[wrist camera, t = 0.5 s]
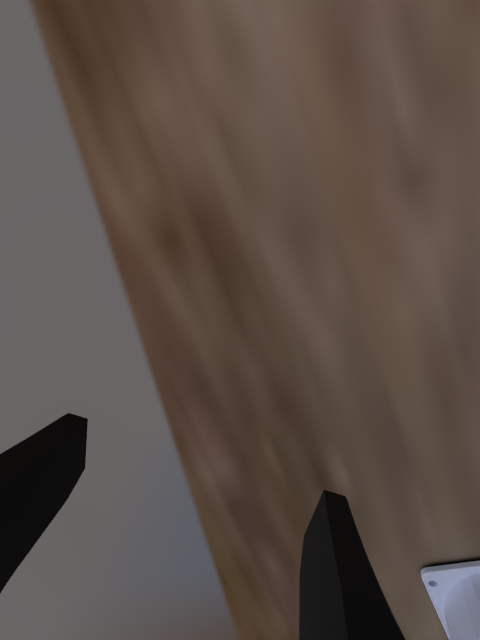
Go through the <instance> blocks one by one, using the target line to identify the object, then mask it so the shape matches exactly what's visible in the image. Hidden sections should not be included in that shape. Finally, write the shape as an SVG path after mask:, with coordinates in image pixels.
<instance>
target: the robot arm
mask: <svg viewBox="0 0 480 640" xmlns="http://www.w3.org/2000/svg"><path fill="white" fill-rule="evenodd" d="M87 420H88V419H86V418H83V417H80V416H77V415H73V414H70V413H68V414H66V415H64V416H62V417H61V418H59V419H58V420H56V421H54V422H53V423H51V424H49V425H48V426H46V427H45V428H43V429H41V430H40V431H38V432H37V433H35V434H33V435H32V436H30V437H29V438H27V439H25V440H23V441H22V442H20V443H19V444H17V445H15V446H13V447H12V448H10V449H8V450H6V451H5V452H3V453H1V454H0V593H1V591H2V590H3V588H4V586H5V585H6V583H7V582H8V581H9V579H10V577H11V576H12V575H13V573H14V572H15V570H16V569H17V567H18V566H19V565H20V563H21V562H22V561H23V559H24V558H25V557H26V555H27V554H28V553H29V551H30V550H31V548H32V547H33V546H34V544H35V543H36V542H37V540H38V539H39V537H40V536H41V535H42V533H43V532H44V531H45V529H46V528H47V527H48V525H49V524H50V522H51V521H52V520H53V518H54V517H55V516H56V514H57V513H58V511H59V510H60V509H61V507H62V506H63V505H64V503H65V502H66V500H67V499H68V497H69V495H70V493H71V492H72V490H73V488H74V487H75V485H76V483H77V481H78V479H79V478H80V476H81V474H82V472H83V471H84V469H85V457H86V438H87ZM421 577H422V580H423V582H424V585H425V587H426V589H427V591H428V594H429V596H430V598H431V600H432V603H433V605H434V607H435V609H436V611H437V614H438V616H439V618H440V620H441V623H442V625H443V627H444V629H445V632H446V634H447V636H448V638H449V640H480V560H479V561H472V562H464V563H456V564H448V565H440V566H432V567H425V568H423V569H422V570H421ZM299 640H405V638H404V636H403V634H402V632H401V630H400V628H399V626H398V624H397V622H396V620H395V618H394V616H393V614H392V612H391V610H390V607H389V605H388V603H387V601H386V599H385V597H384V595H383V592H382V590H381V588H380V585H379V583H378V581H377V579H376V576H375V574H374V571H373V569H372V566H371V564H370V562H369V559H368V557H367V554H366V552H365V549H364V547H363V544H362V541H361V539H360V536H359V533H358V530H357V528H356V525H355V522H354V519H353V516H352V513H351V510H350V507H349V504H348V501H347V499H346V497H345V496H343V495H339V494H336V493H333V492H329V491H326V490H324V491H323V493H322V495H321V498H320V500H319V502H318V505H317V507H316V509H315V512H314V514H313V516H312V519H311V521H310V523H309V526H308V528H307V530H306V533H305V535H304V541H303V549H302V558H301V568H300V621H299Z"/></svg>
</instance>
